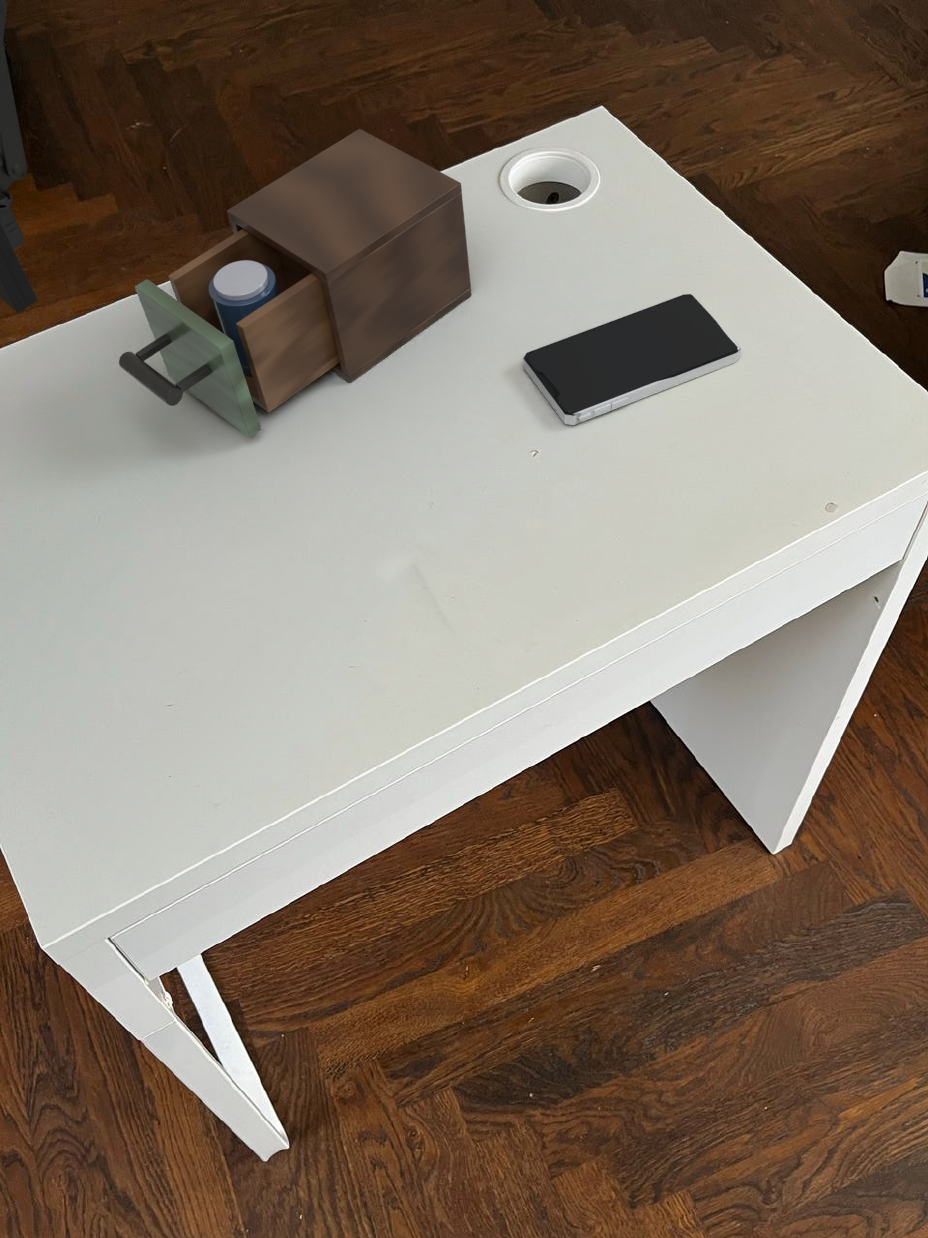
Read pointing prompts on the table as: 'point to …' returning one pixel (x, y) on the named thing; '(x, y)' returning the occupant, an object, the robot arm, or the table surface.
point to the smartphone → (630, 358)
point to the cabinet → (368, 242)
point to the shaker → (241, 298)
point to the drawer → (271, 336)
